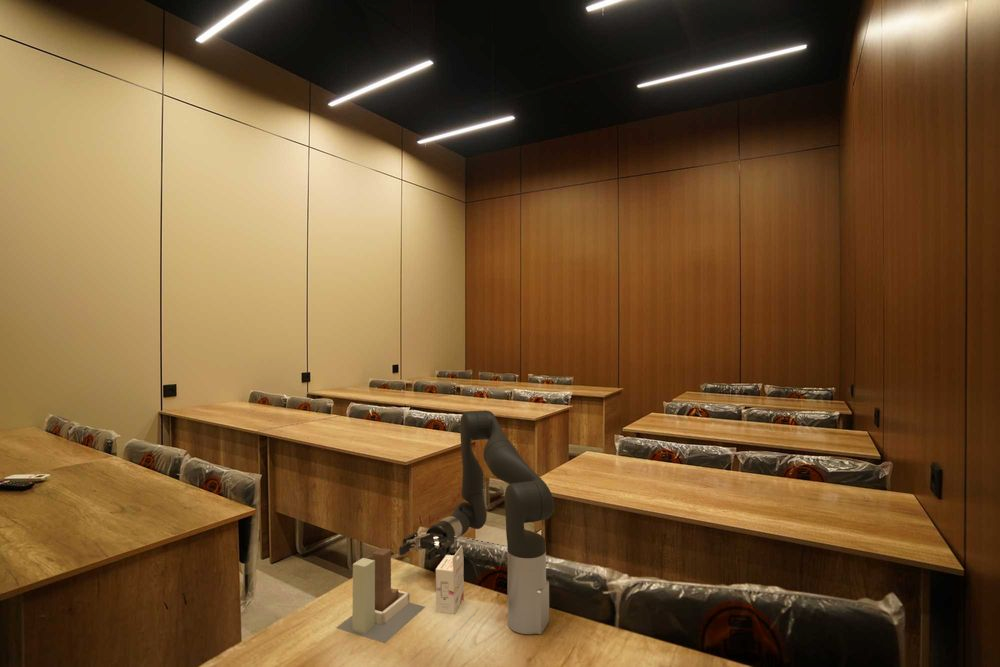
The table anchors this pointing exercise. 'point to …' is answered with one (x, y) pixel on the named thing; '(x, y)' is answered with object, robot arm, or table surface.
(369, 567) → the sage pillar
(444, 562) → the ink cartridge box
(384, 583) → the wooden block
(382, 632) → the base plate
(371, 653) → the table surface
